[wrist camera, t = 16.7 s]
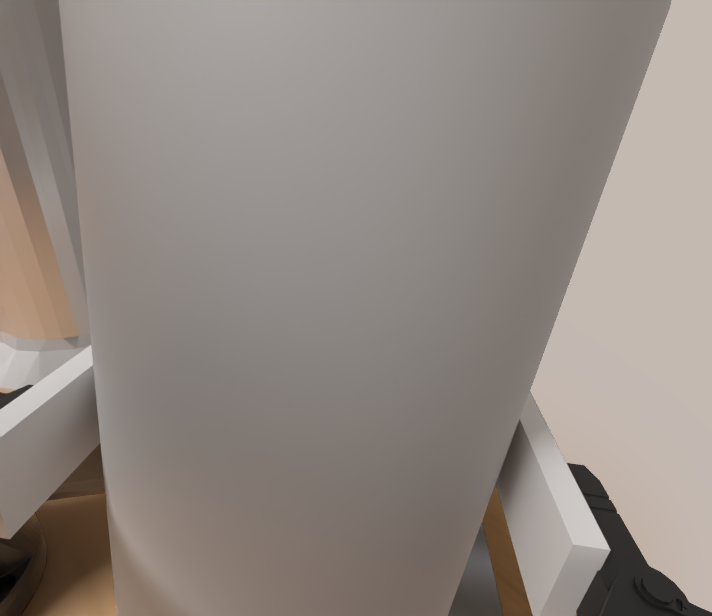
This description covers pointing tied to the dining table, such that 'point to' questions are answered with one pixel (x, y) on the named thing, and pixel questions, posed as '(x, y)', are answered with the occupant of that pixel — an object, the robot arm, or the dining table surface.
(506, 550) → the dining table surface
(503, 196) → the cylinder vase
